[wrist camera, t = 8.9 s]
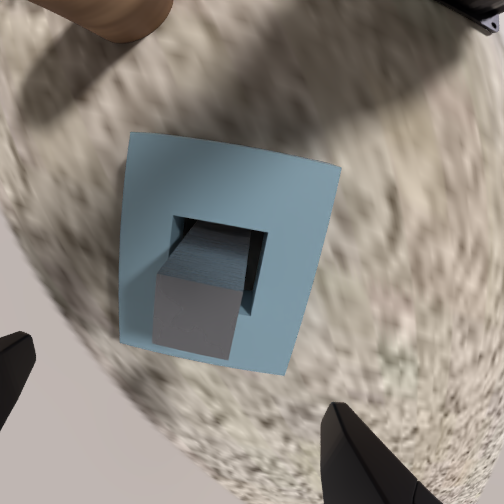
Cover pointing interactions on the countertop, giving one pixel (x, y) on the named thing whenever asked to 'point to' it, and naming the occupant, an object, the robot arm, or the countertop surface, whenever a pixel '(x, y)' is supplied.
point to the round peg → (113, 16)
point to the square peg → (202, 290)
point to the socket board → (229, 213)
